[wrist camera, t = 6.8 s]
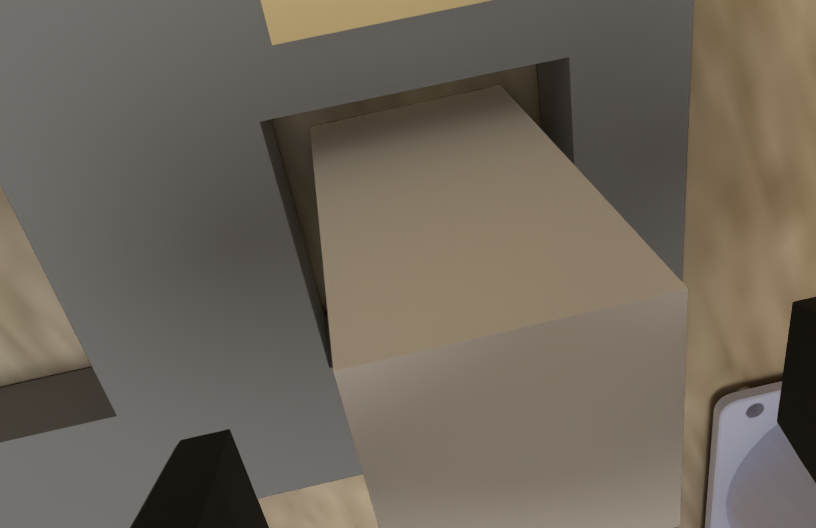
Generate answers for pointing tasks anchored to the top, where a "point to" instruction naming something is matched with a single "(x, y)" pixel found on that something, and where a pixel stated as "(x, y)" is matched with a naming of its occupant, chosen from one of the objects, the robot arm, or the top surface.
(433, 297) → the plug
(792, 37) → the top surface
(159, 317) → the socket plate
